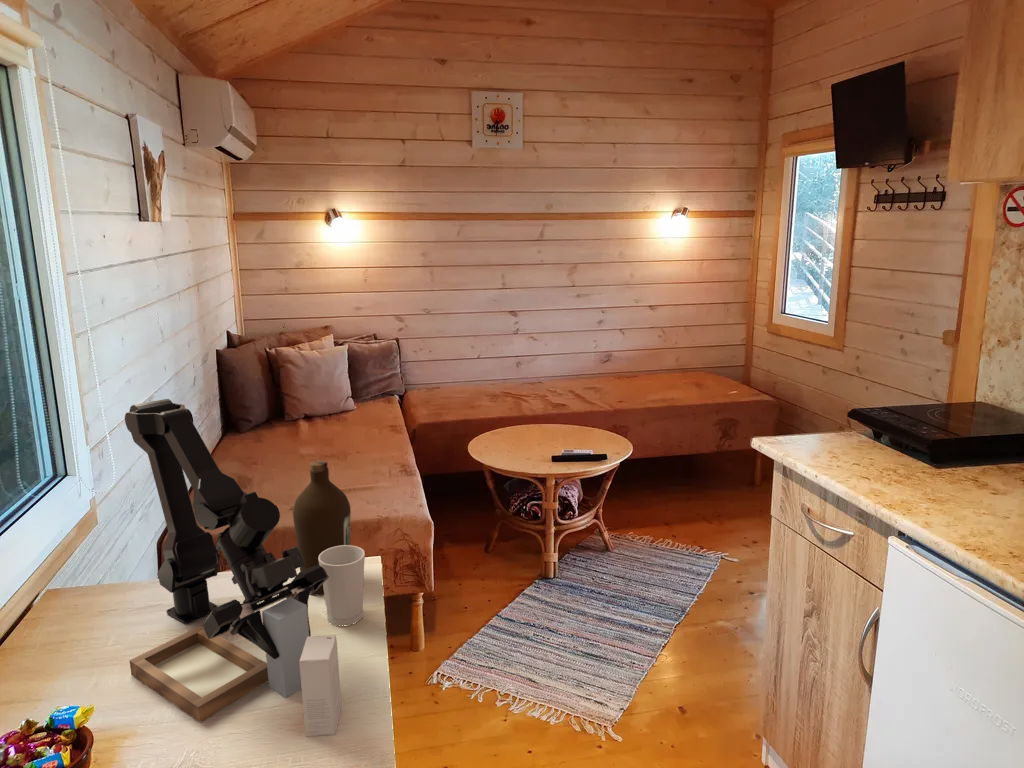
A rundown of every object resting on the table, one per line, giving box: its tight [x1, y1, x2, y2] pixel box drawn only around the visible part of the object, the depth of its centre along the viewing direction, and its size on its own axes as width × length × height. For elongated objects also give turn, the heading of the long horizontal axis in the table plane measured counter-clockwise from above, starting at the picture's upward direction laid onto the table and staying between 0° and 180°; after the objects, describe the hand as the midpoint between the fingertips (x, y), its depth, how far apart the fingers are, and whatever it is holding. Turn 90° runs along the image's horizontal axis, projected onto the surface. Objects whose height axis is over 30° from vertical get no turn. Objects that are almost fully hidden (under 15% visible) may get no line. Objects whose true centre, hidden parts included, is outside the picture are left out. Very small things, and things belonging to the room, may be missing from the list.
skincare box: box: [299, 634, 342, 737], centre depth 101 cm, size 6×4×12 cm
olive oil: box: [292, 459, 352, 596], centre depth 138 cm, size 11×11×25 cm
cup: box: [318, 544, 366, 627], centre depth 128 cm, size 8×8×12 cm
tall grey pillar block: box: [261, 597, 309, 699], centre depth 109 cm, size 4×5×13 cm
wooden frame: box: [129, 625, 269, 723], centre depth 112 cm, size 19×12×2 cm, turn 54°
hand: (293, 649), depth 108 cm, fingers closed on tall grey pillar block, 5 cm apart
